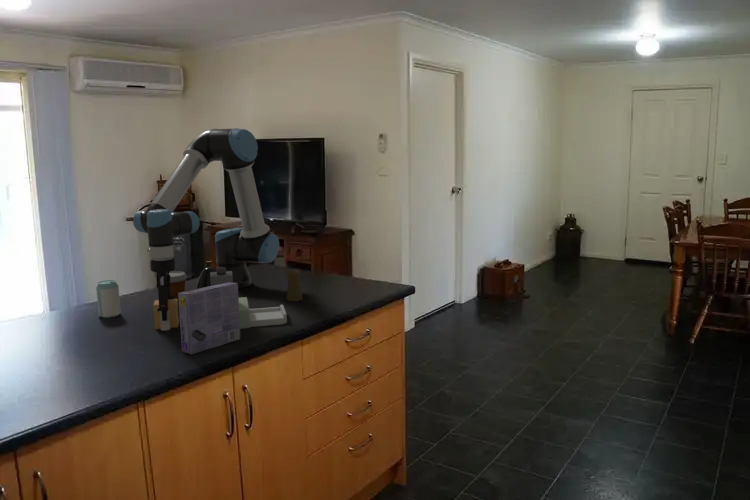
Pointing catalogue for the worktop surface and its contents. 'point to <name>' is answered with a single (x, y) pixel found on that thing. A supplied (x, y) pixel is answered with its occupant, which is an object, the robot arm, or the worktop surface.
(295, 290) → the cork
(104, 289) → the can
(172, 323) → the cardboard box
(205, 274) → the pump dispenser
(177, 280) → the disposable coffee cup
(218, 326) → the cake pan box
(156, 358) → the worktop surface
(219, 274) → the pale green boxy piece
